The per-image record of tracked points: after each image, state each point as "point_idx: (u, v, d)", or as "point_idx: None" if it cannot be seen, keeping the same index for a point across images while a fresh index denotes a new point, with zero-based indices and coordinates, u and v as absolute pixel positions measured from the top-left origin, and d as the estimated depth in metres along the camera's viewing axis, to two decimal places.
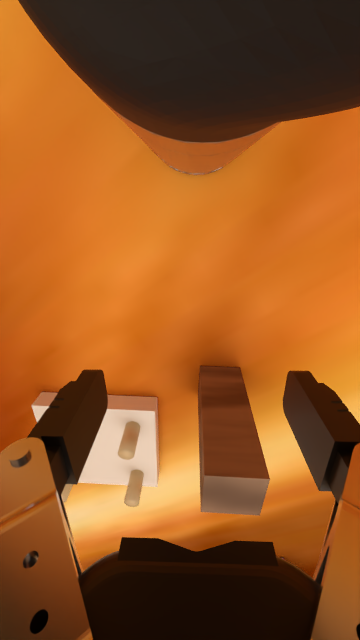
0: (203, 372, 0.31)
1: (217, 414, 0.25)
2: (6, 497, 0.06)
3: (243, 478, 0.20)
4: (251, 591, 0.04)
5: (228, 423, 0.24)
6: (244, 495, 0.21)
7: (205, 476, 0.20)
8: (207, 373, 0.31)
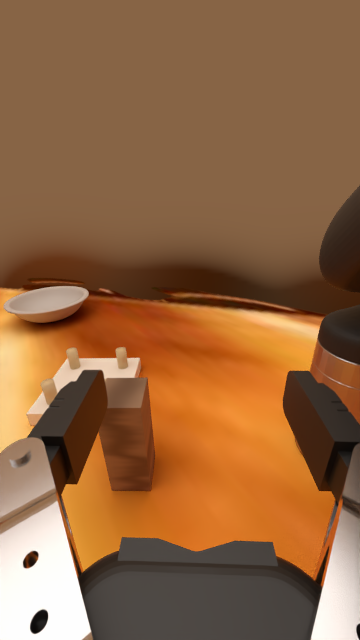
0: (154, 451, 0.37)
1: (149, 424, 0.33)
2: (6, 497, 0.06)
3: (142, 394, 0.29)
4: (251, 591, 0.04)
5: (147, 424, 0.31)
6: (122, 397, 0.28)
7: (146, 378, 0.31)
8: (153, 453, 0.36)
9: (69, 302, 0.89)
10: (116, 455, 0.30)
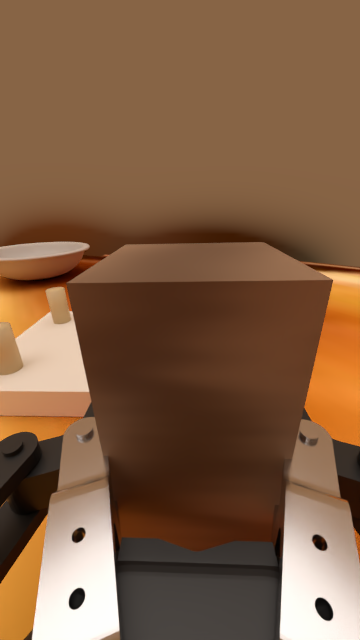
0: None
1: None
2: (68, 467, 0.07)
3: (287, 258, 0.07)
4: (251, 591, 0.04)
5: None
6: (203, 262, 0.06)
7: (261, 242, 0.09)
8: None
9: None
10: (163, 513, 0.08)
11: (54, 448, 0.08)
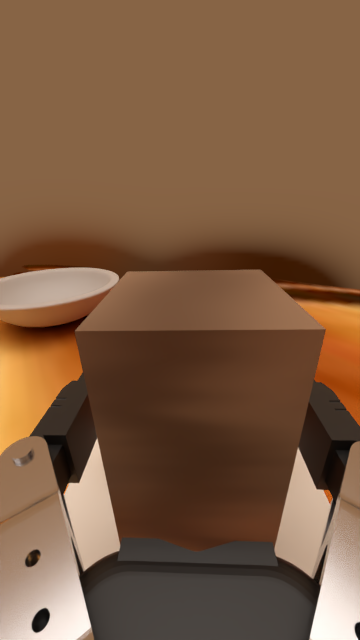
0: None
1: None
2: (9, 495, 0.06)
3: (283, 296, 0.07)
4: (251, 591, 0.04)
5: None
6: (203, 302, 0.07)
7: (258, 270, 0.10)
8: None
9: (84, 293, 0.53)
10: (165, 537, 0.08)
11: None
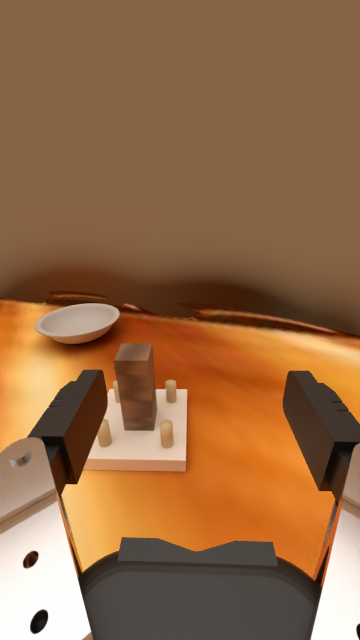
0: (156, 405, 0.47)
1: (153, 380, 0.43)
2: (6, 497, 0.06)
3: (148, 353, 0.39)
4: (251, 591, 0.04)
5: (152, 378, 0.42)
6: (134, 354, 0.39)
7: None
8: (156, 406, 0.46)
9: (98, 320, 0.86)
10: (129, 399, 0.41)
11: None
